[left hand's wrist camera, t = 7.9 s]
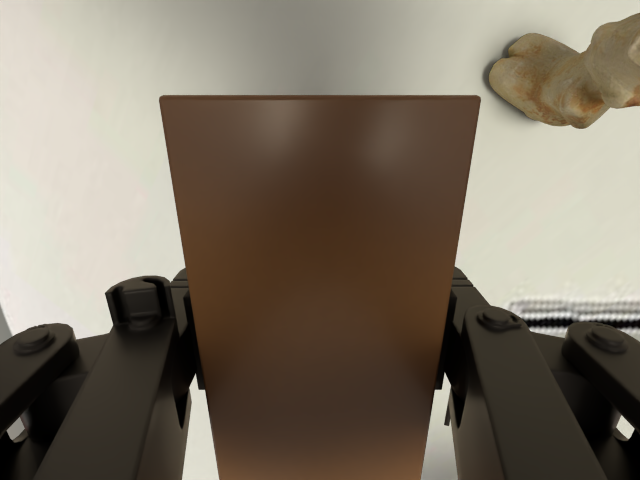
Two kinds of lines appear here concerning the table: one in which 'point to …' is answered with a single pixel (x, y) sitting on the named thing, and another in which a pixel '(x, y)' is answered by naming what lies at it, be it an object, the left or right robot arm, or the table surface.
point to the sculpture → (572, 75)
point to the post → (319, 272)
